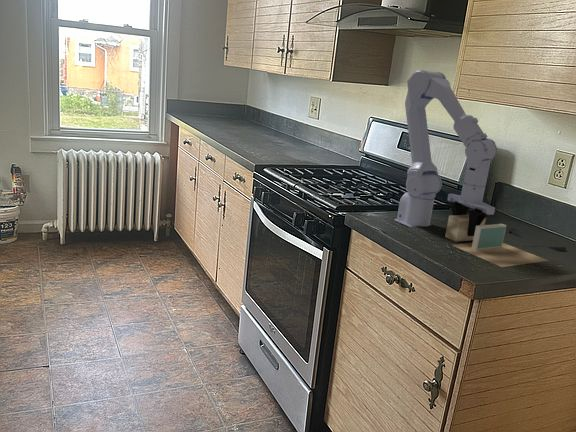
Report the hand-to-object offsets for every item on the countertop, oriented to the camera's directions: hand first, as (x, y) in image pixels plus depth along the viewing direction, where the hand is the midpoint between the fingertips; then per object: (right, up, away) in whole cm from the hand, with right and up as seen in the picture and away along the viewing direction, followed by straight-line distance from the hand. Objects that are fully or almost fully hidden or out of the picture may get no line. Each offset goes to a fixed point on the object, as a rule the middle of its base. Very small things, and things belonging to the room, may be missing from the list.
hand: (464, 233), depth 149 cm
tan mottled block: (0, -2, +1) cm, 2 cm away
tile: (+4, -4, -6) cm, 8 cm away
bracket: (+20, -4, +8) cm, 22 cm away
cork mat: (+6, -6, -9) cm, 12 cm away
